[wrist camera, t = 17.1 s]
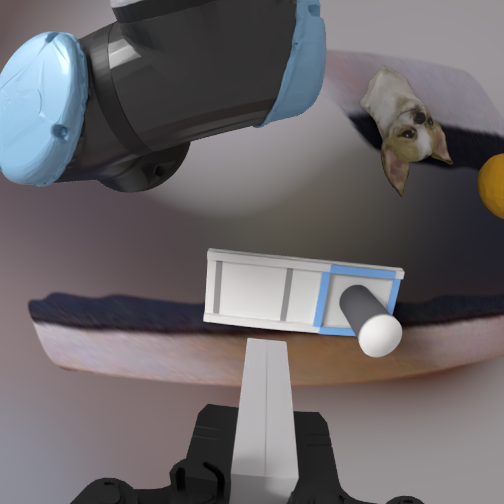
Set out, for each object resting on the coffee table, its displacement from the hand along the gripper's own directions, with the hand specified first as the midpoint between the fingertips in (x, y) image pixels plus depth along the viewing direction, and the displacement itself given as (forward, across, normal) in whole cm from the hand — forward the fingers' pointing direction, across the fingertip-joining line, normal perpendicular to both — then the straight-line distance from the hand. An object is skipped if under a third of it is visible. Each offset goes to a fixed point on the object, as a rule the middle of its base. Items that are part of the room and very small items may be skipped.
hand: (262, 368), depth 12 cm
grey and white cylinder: (+28, +13, -7) cm, 32 cm away
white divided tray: (+28, +6, -7) cm, 30 cm away
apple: (+29, +32, +12) cm, 45 cm away
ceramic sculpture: (+29, +15, +16) cm, 36 cm away
